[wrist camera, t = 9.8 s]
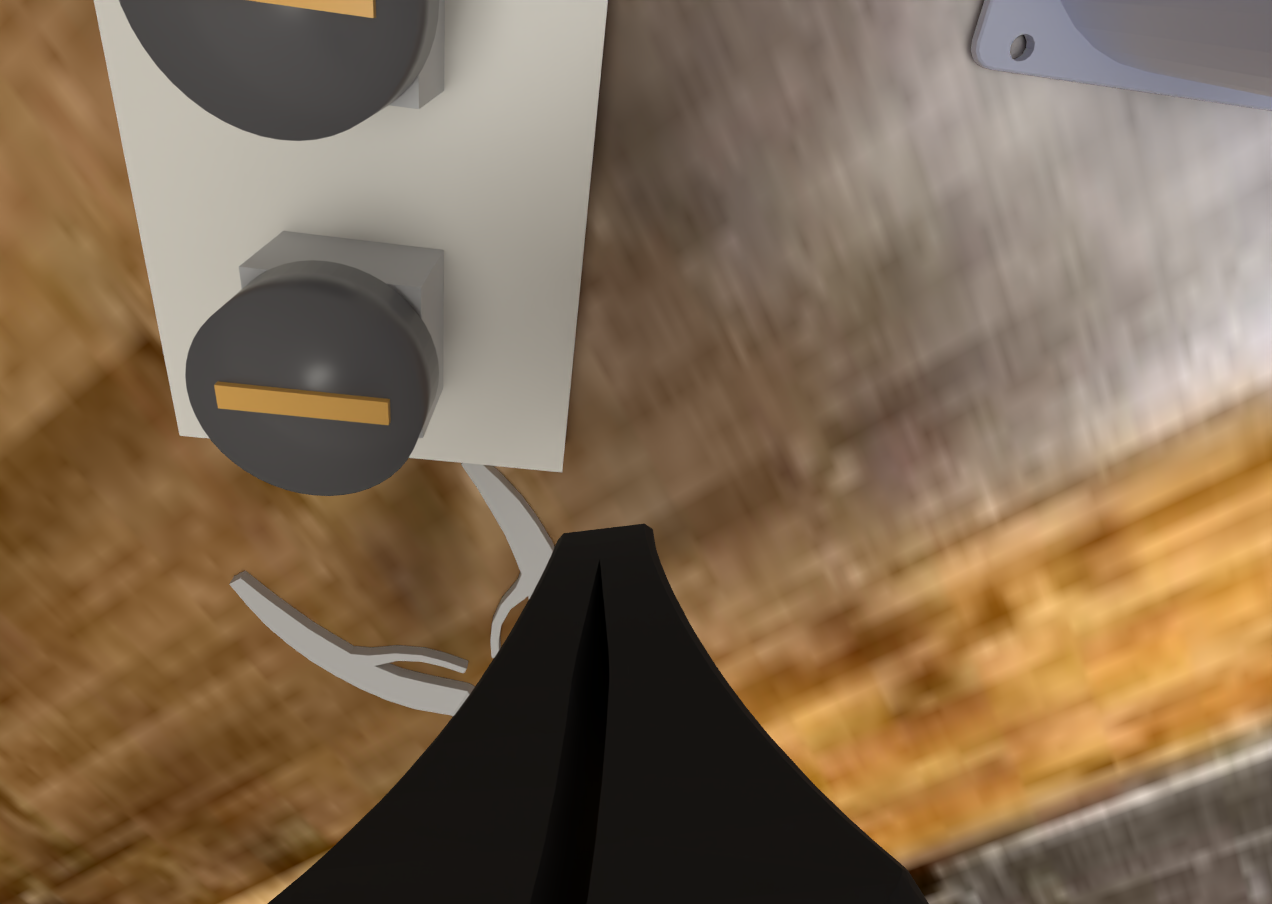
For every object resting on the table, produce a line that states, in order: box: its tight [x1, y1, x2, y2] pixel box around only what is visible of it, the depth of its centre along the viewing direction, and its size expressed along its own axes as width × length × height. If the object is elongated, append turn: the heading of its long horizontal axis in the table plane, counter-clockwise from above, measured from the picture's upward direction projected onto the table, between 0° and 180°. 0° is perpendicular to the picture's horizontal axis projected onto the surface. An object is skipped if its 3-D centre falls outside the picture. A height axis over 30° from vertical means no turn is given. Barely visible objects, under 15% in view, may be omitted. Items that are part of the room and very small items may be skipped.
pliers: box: [230, 463, 555, 716], centre depth 27 cm, size 10×2×15 cm
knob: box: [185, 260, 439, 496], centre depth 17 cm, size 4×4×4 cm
